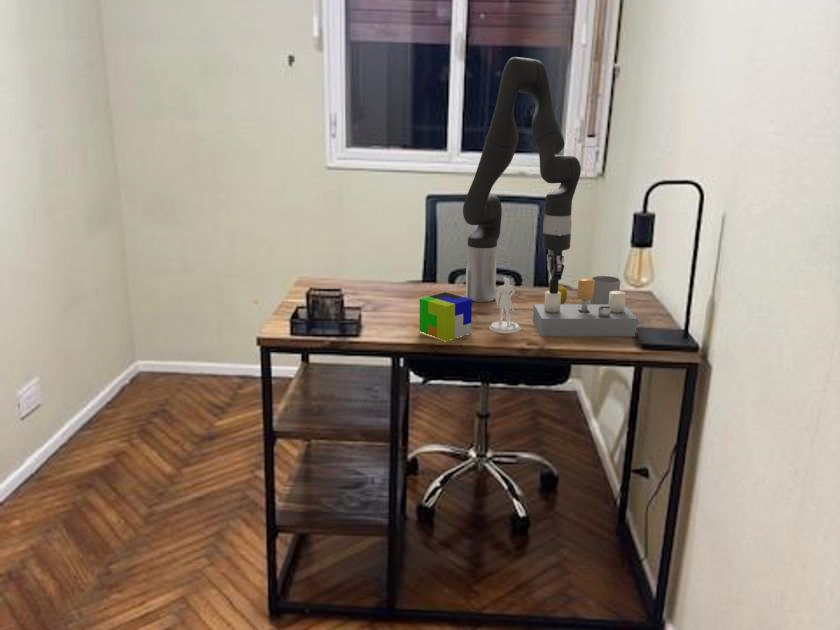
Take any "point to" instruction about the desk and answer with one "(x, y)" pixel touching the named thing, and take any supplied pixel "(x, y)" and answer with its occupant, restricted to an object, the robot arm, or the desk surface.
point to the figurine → (507, 303)
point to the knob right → (617, 301)
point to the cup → (604, 289)
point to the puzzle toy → (445, 316)
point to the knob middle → (585, 291)
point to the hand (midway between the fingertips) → (553, 292)
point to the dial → (604, 311)
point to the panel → (583, 321)
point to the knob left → (552, 302)
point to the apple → (562, 293)
